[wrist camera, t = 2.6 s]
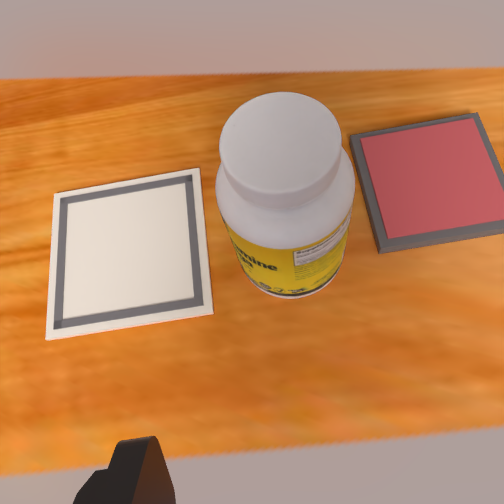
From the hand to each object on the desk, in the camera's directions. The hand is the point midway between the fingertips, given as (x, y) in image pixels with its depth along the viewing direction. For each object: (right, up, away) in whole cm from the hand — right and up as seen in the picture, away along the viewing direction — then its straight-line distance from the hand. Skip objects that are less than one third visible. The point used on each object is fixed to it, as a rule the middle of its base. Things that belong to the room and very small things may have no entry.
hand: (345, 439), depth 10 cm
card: (-10, +4, +19) cm, 22 cm away
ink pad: (+9, +8, +18) cm, 22 cm away
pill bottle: (0, +4, +18) cm, 18 cm away
